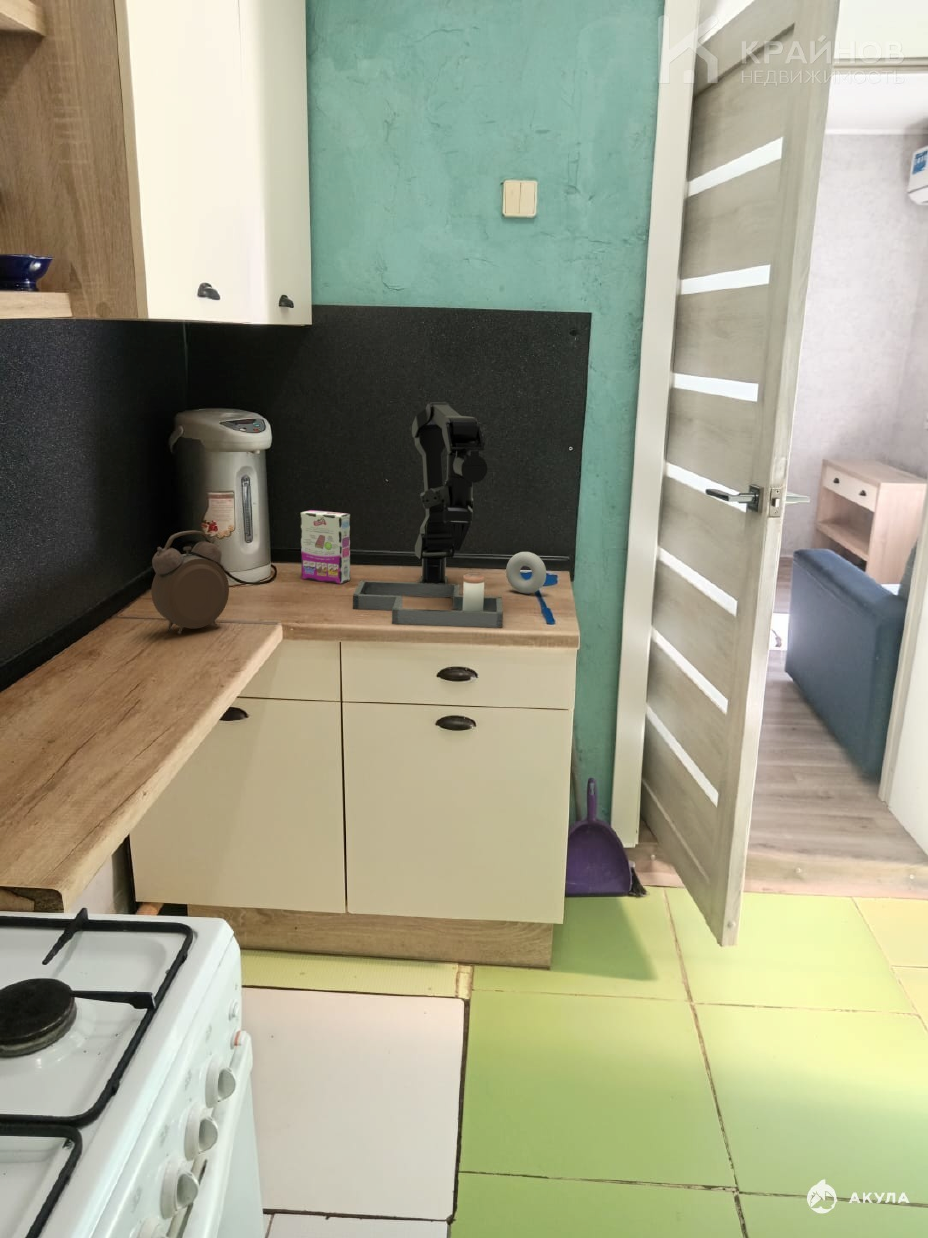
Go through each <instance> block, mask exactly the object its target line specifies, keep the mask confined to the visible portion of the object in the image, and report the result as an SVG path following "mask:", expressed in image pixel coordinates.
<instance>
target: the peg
mask: <svg viewBox="0 0 928 1238" xmlns="http://www.w3.org/2000/svg"><path fill="white" fill-rule="evenodd" d="M485 577H486V575H485V574H483V573H479V572H468V573H464V574H463V586H462V587H463V588H462V596H463V610H462V611H481V612H484V611H483V602H484V596H485V594H484V593H485V581H486V579H485Z"/></svg>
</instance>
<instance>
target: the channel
mask: <svg viewBox="0 0 928 1238" xmlns="http://www.w3.org/2000/svg"><path fill="white" fill-rule="evenodd" d="M460 590H461V583H447V584H444V583H420V582H415V581H414V582H411V581H385V580H360V581H359V582H358V585H357V586H356V589H355V591H354V592H353V595H352V609H353V610H372V611H373V610H379V611H391V624H392V625H393V624H395V625H415V626H416V625H418V626H419V625H420V626H444V627H445V626H446V627H448V626H449V627H470V628H471V627H473V628H495V629H496V628H499V629H502V628H503V615H504V613H503V597H502V596H487V595H486V596H485V595H484V602H483V612H481V611H463V594H462V595H460V592H461V591H460ZM404 597H421V598H422V597H424V598H445V597H453V598H452V610H449V609H423V608H403V598H404Z"/></svg>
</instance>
